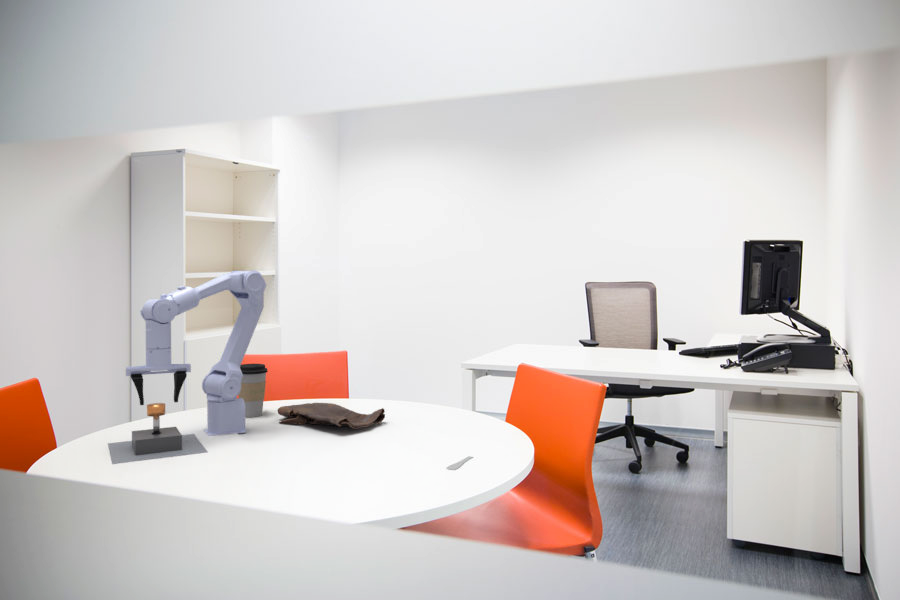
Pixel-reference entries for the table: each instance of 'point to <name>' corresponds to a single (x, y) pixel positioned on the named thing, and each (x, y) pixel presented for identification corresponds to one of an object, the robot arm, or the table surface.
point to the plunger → (156, 415)
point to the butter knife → (458, 464)
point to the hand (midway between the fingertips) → (159, 403)
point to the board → (125, 453)
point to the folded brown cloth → (328, 415)
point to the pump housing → (156, 441)
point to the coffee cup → (253, 388)
